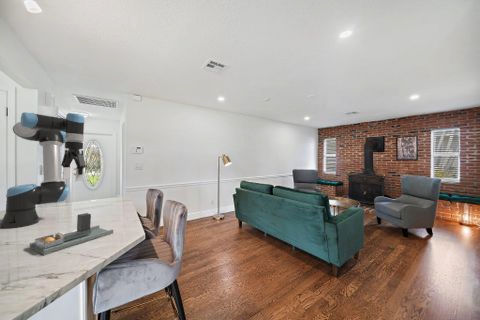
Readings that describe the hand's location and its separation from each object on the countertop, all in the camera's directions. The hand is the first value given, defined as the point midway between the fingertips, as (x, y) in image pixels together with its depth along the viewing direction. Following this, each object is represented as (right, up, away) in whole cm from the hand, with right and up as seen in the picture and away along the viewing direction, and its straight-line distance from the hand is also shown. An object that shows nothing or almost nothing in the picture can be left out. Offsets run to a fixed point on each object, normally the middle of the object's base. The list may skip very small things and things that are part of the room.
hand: (72, 179), depth 104 cm
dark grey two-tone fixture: (+11, -28, -11) cm, 32 cm away
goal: (+7, -29, -19) cm, 35 cm away
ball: (+7, -26, -19) cm, 33 cm away
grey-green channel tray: (+11, -29, -10) cm, 33 cm away
